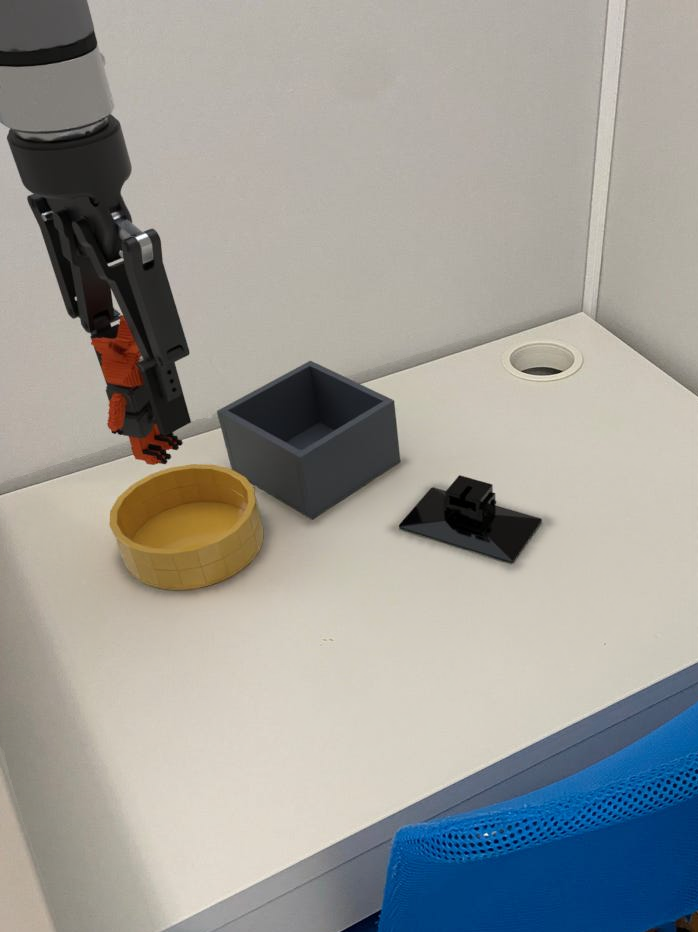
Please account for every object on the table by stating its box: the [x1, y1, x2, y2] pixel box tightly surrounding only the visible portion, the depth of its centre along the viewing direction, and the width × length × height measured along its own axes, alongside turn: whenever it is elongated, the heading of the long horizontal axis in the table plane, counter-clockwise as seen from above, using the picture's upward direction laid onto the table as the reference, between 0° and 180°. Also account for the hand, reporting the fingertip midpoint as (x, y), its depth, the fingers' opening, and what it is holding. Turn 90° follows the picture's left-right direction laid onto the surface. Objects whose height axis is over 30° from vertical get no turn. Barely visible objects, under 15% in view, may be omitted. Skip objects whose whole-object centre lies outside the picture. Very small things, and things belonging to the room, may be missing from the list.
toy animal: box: [90, 315, 184, 466], centre depth 79 cm, size 8×6×12 cm
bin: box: [216, 360, 401, 520], centre depth 97 cm, size 13×13×8 cm
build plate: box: [398, 475, 543, 565], centre depth 90 cm, size 12×7×5 cm, turn 64°
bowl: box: [108, 463, 265, 591], centre depth 89 cm, size 13×13×4 cm
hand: (151, 413), depth 81 cm, fingers closed on toy animal, 6 cm apart
